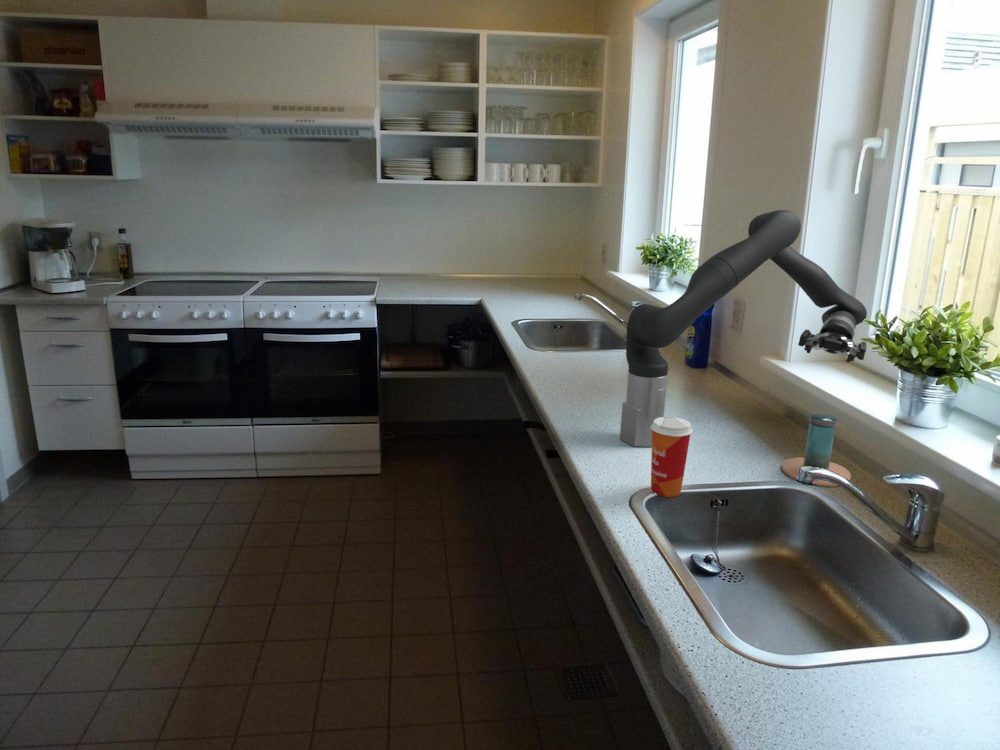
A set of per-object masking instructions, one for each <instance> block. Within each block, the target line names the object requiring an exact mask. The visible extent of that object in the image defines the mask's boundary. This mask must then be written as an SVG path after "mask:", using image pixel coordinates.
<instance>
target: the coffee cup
mask: <svg viewBox="0 0 1000 750" xmlns="http://www.w3.org/2000/svg"><path fill="white" fill-rule="evenodd" d="M651 429H652V447H651V459H650V460H651V461H650V462H651V465H650V467H651V468H650V490H652V491H653V492H654V493H656V494H657V496H659V497H663V498H675V497H679V496H680V495H681V492H682V486H683V481H684V477H685V476H684V475H685V469H686V465H687V464H686V463H687V457H688V451H689V445H690V439H691V434H692V433H693V428H692V424H691V423H690V422H689V421H688V420H687V419H684V418H680V417H674V418H673V417H668V416H666V417H664V418H663V417H659V418H656V419H655V420H654V422H653V424H652V425H651ZM652 491H651V492H652ZM653 492H652V493H653ZM654 493H653V494H654ZM656 494H655V495H656Z"/></svg>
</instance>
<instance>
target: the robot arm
mask: <svg viewBox="0 0 1000 750" xmlns="http://www.w3.org/2000/svg"><path fill="white" fill-rule="evenodd" d="M801 222H802V221H801V219H800V217H799V216H798V214H796V213H795V212H794V211H793V210H792V211H791V210H788V209H776V210H773V211H769V212H765V213H761V214H759V215H756V216H755V217H753V219H752V220H751V221H750V223H749V224H748V237H747V238H745V239H743V240H741V241H738V242H737V243H735V244H732V245H730V246H728V247H727V248H724V249H723V250H720V251H719V252H717V253H715V254H714V255H712V256H711V257H710V258H708V259H707V260H706V261H704V262H703V263H702V264H700V266H698V267H697V268H696V269H695V270H694V272H693V273H692V275H691V276H690V278H689V281H688V285H687V288H686V289H685V292H684V293H683V294H682V295H681V296H680V297H679V298H677V299H676V300H674V301H673V302H672V303H671V304H669V305H668V306H666V307H661V306H657V305H653V304H648V303H642V304H639V305H637V306H636V307H635V308H633V310H632V311H631V312H630V314H629V317H628V320H627V324H626V338H625V339H626V341H625V342H626V343H625V345H626V346H625V348H626V349H625V356H626V361H627V364H628V373H627V387H626V397H625V401H622V406H621V420H620V431H619V433H620V435H619V439H620V440H621V441H624V442H625V443H627V444H628V445H630V446H633V447H634V448H636V447H642V448H643V447H644V448H645V447H646V448H650V447H651V448H652V429H651V425H652V424H653V422H654V420H655V419H656V418H659V417H663V418H665V417H664V416H665V408H666V397H667V384H668V376H669V375H668V373H669V372H668V371H669V363H668V362H667V360H666V359H665V358H664V357H663V355H661V352H660V350H659V349H662V348H666V347H668V346H669V345H671V344H672V343H674V342H675V341H677V340H678V338H679V337H680V336H682V334H683V333H684V332H685V331H687V329H689V327H690V326H691V325H692V324H694V322H695V321H696V320H698V318H700V316H702V315H703V314H704V313H706V311H708V310H709V309H710V308H711V307H712V306H713V305H715V303H717V302H718V301H719V300H721V299H722V298H723V297H725V296H726V295H727V294H729V293H730V292H731V291H732V290H733V289H735V288H736V287H737V286H739V285H740V283H742V282H743V281H745V279H746V278H748V277H749V276H750V275H751V274H753V273H754V272H755V271H756V270H757V269H758V268H759V267H760V266H762V265H763V264H764V263H765V262H766V261H768V260H769V259H770V260H771V261H772V262H773V263H774V264H775V265H777V267H779V269H781V270H782V271H784V273H786V274H787V275H788V276H789V277H790V278H791V279H792V280H793V281H794V282H795V283H796V284H797V285H798V286H799V288H801V290H802V291H803V292H804V293H805V295H807V297H809V299H810V300H811V301H812V303H813V304H814V305H815V306H816V307H818V308H820V309H824V308H829V307H830V308H829V309H827V310H826V311H824V313H822V316H821V321H822V326H821V328H820V330H819V333H816V334H814V333H812V332H811V330H809V329H804V330H803V332H801V334H800V337H799V339H798V346H800V347H804V349H803V350H804V351H806V353H807V354H811V351H812V350H813V349H814V350H815V351H820V350H823V351H825V352H827V353H829V354H833V355H837V354H840V355H841V356H843V357H847V359H846V363H849V364H850V363H851V362H854V361H855V359H856V358H857V359H858V360H860V361H864V358H865V355H866V353H867V342H865V341H861V342H859V343H854V338H855V337H854V336H855V332H856V326H857V325H859V324H862V323H864V321H865V320H866V319H867V315H868V313H867V312H868V311H867V308H866V306H865V305H864V304H863V303H862V302H861V301H860V300H859V299H857V298H856V297H854V296H852V295H851V294H849V293H847V292H846V291H845V290H844V289H842V288H841V287H839V286H838V284H837V283H836V282H835V281H834V279H833V278H832V277H831V275H829V273H827V271H826V270H825V269H824V268H823V267H822V266H820V265H818V264H817V263H815V262H814V261H812V260H811V259H809V258H807V257H805V256H804V255H802V253H800V252H798V251H797V250H795V248H793V247H792V246H791V245H793V244H794V243H795V242H796V241H797V239H798V238H799V236H800V232H801V229H802V225H801V224H802V223H801ZM864 319H865V320H864ZM863 320H864V321H863Z"/></svg>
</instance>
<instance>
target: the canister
mask: <svg viewBox="0 0 1000 750" xmlns="http://www.w3.org/2000/svg"><path fill="white" fill-rule="evenodd" d="M808 422H809V424H808V432H807V437H806V443H805V451H804V456H803V457H804V463H803V466H812V467H819V468H824V469H828V470H829V464H830V462H831V457H832V452H833V451H832V449H833V443H834V436H835V430H836V427H837V424H838V418H837V417H836V416H833V415H830V414H826V413H811V414H809V416H808Z"/></svg>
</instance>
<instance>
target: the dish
mask: <svg viewBox="0 0 1000 750" xmlns="http://www.w3.org/2000/svg"><path fill="white" fill-rule="evenodd" d="M804 457H805V456H803V457H802V456H801V457H792V458H791V457H790V458H788V459H785V460H784V461H783V462H782V465H781V470H782V473H784V474H785V475H786V476H787V475H788V477H789V478H791V479H793V480H795V481H797V476H798V470H799V468H800V467H802V466H803V463H804ZM829 470H831V471H833V472H835V473H838V474H840V475H841V476H843V477H845V478H847V479H848V480H851V477H852V474H851V472H850V471H849V470H848V469H847V468H845V467H844V466H842V465H840V464H838V463H836V462H832V461H830V464H829ZM814 483H815V484H817V485H818V487H833V488H834V487H838V486H837V485H835V484H832V483H830V482H828V481H822V480H819V481H814ZM817 485H816V486H817Z"/></svg>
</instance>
